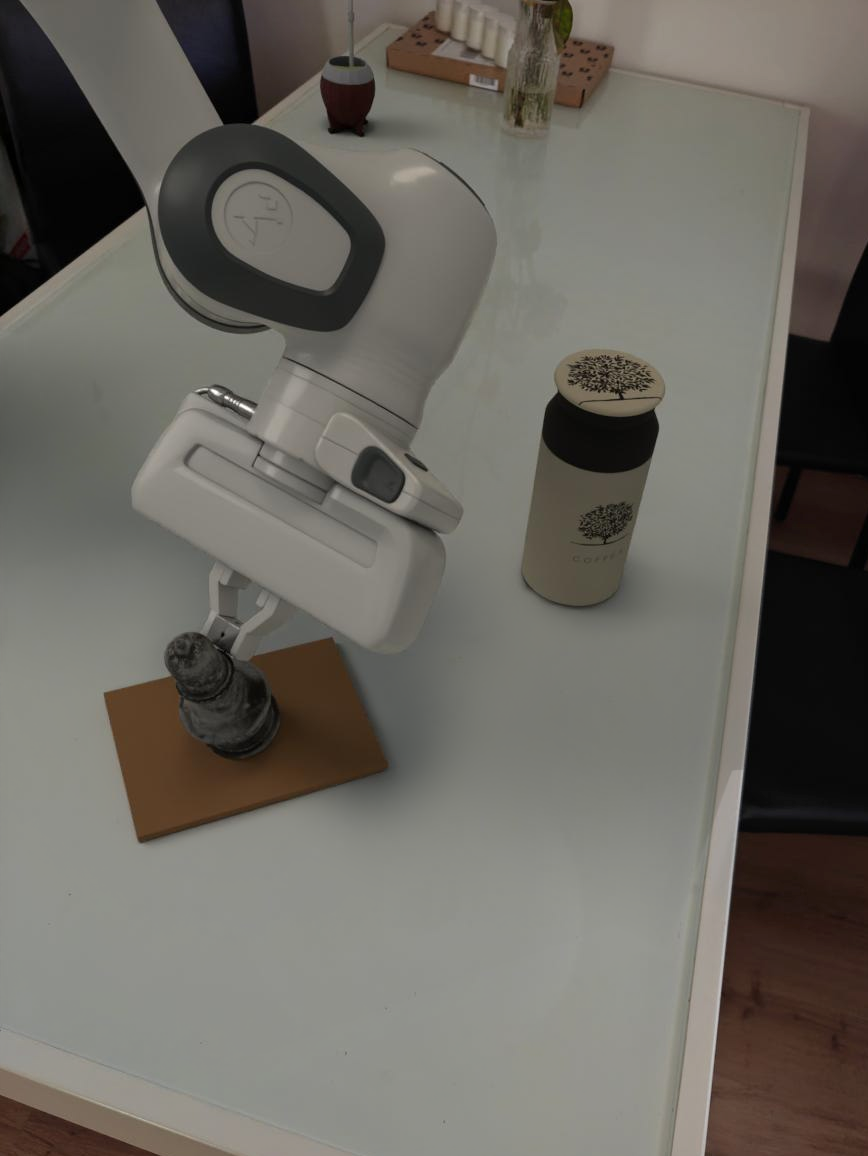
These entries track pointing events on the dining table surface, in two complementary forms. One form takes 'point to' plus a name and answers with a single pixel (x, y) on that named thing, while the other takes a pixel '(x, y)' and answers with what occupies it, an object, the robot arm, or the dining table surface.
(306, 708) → the cork mat
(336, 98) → the mate gourd
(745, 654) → the dining table surface
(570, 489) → the travel mug
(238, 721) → the salt shaker
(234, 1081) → the dining table surface
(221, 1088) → the dining table surface
